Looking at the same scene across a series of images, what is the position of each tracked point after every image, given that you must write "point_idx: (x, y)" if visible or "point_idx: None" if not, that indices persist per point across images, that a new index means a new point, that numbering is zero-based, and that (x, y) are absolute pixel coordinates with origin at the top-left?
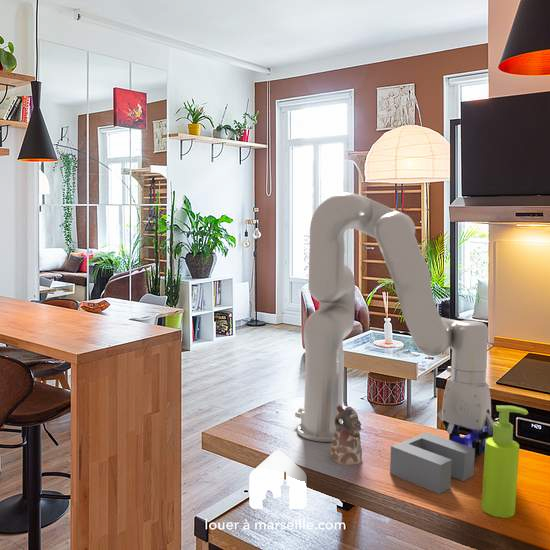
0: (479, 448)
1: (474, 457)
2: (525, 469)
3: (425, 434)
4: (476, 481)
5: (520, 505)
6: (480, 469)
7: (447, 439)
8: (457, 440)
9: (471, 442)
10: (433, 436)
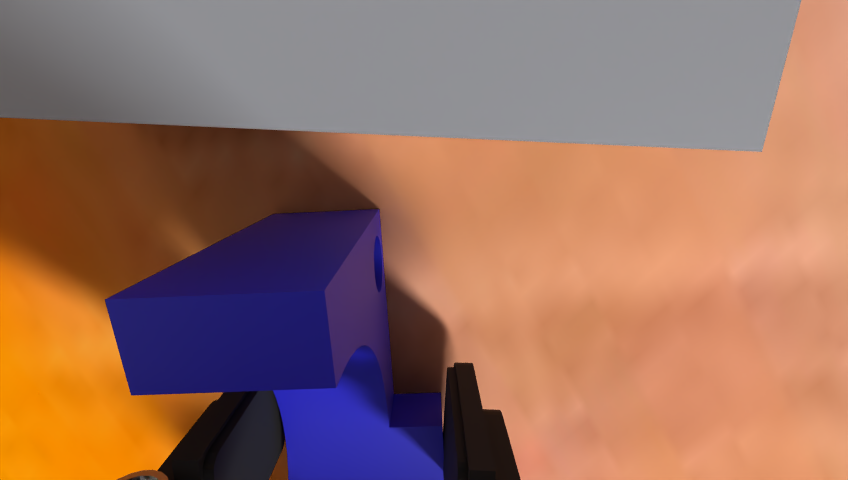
0: (184, 439)
1: None
2: (20, 476)
3: (729, 21)
4: None
5: None
6: None
7: (301, 121)
8: (238, 281)
9: None
10: (559, 50)
